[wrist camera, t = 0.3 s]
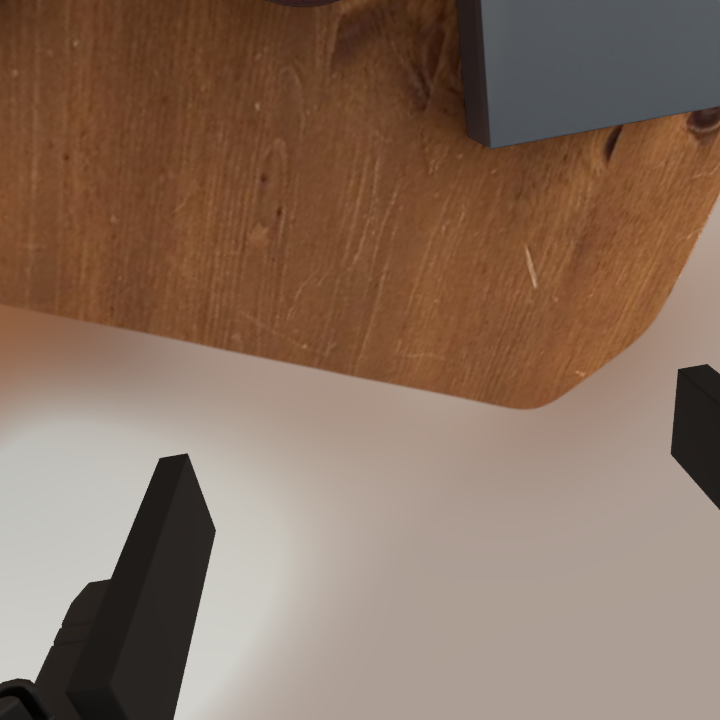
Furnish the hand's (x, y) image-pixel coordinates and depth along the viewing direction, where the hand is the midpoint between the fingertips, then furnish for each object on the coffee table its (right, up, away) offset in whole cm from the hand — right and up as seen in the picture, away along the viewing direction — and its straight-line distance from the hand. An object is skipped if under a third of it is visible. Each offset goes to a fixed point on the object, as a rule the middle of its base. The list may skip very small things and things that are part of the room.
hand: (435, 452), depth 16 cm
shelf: (+11, +24, +20) cm, 33 cm away
